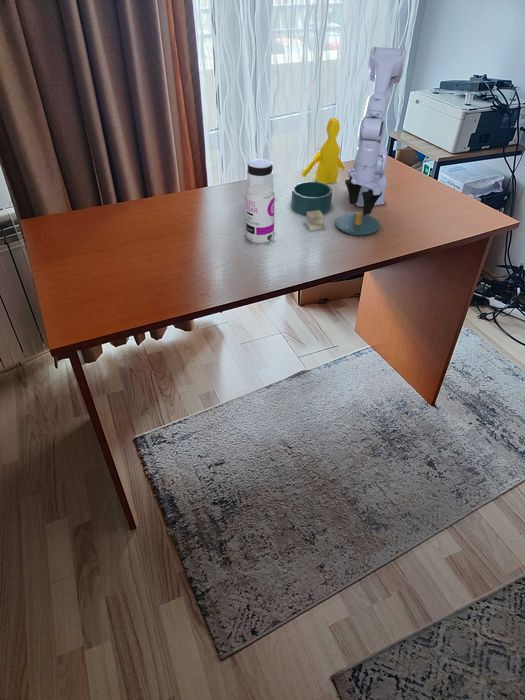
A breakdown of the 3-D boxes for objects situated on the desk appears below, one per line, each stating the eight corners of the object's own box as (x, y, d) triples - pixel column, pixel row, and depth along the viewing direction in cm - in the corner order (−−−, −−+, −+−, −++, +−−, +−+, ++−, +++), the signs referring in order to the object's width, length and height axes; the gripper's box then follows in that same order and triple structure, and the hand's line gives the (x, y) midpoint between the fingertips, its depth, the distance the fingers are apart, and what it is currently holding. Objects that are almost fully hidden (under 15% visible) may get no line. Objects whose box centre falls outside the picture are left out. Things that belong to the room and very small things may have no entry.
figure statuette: (340, 174, 177) (348, 110, 162) (351, 182, 171) (360, 117, 157) (298, 181, 172) (301, 117, 157) (307, 190, 166) (312, 124, 151)
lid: (353, 212, 154) (355, 199, 151) (388, 226, 147) (390, 213, 144) (326, 226, 147) (327, 212, 144) (361, 242, 140) (363, 228, 137)
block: (318, 222, 149) (319, 210, 146) (322, 228, 146) (324, 216, 143) (305, 224, 148) (306, 211, 145) (309, 230, 145) (310, 217, 142)
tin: (323, 196, 162) (324, 179, 158) (335, 213, 153) (337, 196, 149) (287, 200, 160) (287, 183, 156) (297, 217, 151) (298, 200, 147)
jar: (258, 206, 157) (258, 170, 149) (242, 198, 161) (241, 163, 153) (277, 198, 162) (278, 163, 153) (261, 191, 166) (261, 156, 158)
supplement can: (277, 233, 144) (278, 185, 133) (268, 246, 138) (269, 197, 128) (252, 229, 146) (251, 181, 135) (242, 242, 140) (241, 193, 130)
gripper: (341, 156, 138) (336, 201, 147) (368, 175, 128) (361, 221, 137) (361, 153, 140) (355, 197, 149) (390, 171, 130) (382, 216, 139)
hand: (359, 208), depth 143 cm, fingers open, 7 cm apart
